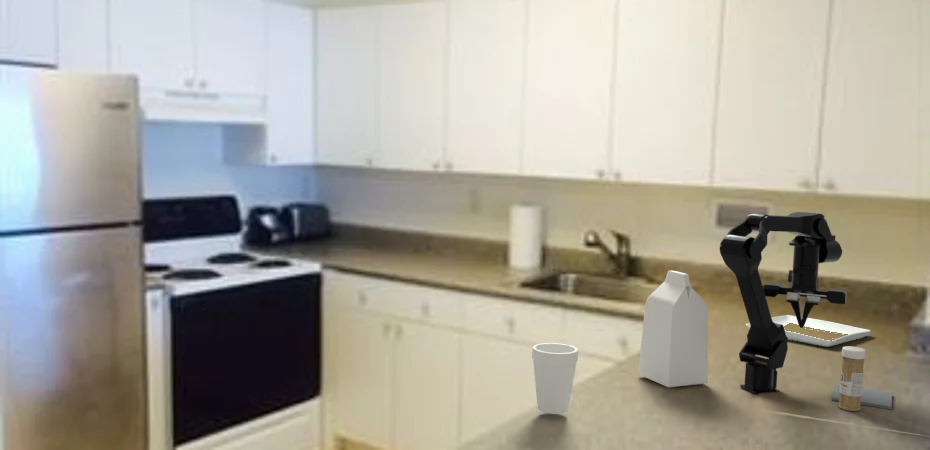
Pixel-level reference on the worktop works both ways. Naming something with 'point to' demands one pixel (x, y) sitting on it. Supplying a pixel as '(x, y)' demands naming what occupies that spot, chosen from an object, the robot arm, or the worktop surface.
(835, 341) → the square plate
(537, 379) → the foam cup
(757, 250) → the robot arm
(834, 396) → the rest mat
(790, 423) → the worktop surface
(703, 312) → the milk
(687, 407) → the worktop surface
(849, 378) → the sprinkles bottle
